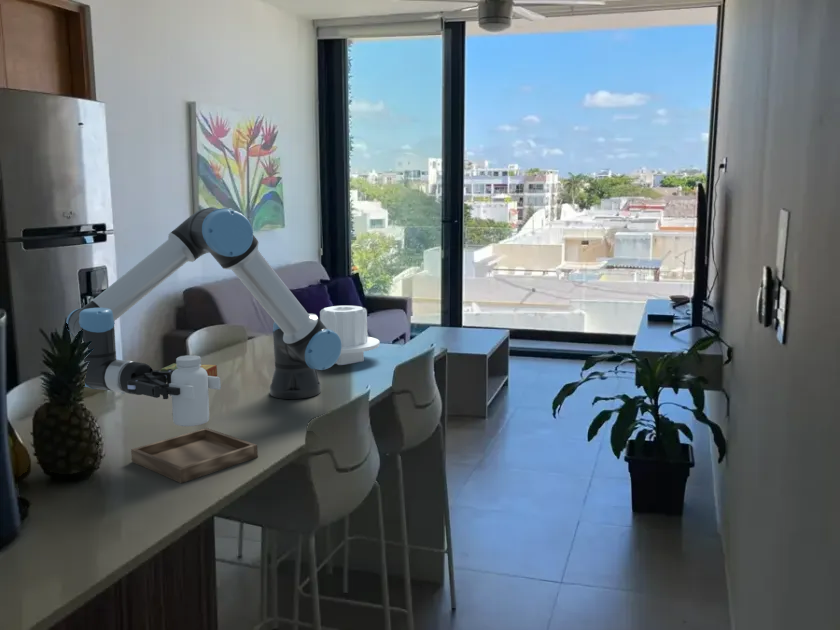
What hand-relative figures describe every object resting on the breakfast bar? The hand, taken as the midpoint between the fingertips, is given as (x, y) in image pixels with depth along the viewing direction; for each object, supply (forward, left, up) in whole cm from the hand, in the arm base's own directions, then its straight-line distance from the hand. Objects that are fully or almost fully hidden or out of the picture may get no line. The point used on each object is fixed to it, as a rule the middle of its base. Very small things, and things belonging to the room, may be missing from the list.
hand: (206, 387), depth 169 cm
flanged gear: (-90, -50, -18) cm, 104 cm away
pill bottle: (+1, -5, -9) cm, 10 cm away
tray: (+1, -5, -17) cm, 18 cm away
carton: (-41, -72, -18) cm, 85 cm away
